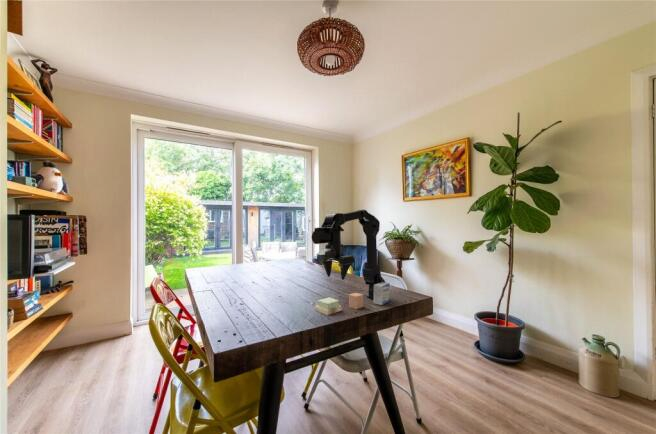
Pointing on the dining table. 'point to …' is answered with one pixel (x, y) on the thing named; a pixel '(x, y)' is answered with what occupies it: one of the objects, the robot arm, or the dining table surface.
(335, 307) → the maple slab
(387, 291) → the medicine box
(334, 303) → the sage slab
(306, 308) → the dining table surface
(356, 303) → the terracotta block
